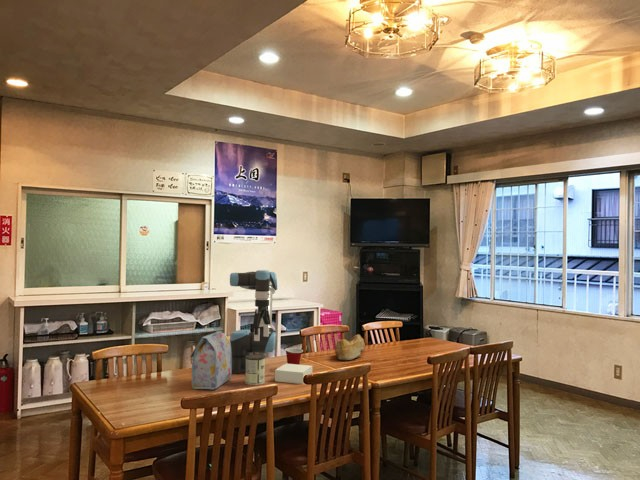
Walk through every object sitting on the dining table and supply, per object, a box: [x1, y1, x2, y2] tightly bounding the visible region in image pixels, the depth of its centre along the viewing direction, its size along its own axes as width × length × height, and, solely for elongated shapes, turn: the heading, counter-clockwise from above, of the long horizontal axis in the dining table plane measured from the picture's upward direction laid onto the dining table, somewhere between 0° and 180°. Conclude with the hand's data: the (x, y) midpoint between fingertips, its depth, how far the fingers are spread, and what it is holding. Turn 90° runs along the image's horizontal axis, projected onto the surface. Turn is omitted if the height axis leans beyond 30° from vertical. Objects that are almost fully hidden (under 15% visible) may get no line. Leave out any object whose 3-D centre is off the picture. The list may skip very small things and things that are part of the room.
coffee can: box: [244, 353, 266, 386], centre depth 257 cm, size 10×10×14 cm
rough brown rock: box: [334, 333, 366, 361], centre depth 321 cm, size 23×17×15 cm
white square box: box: [274, 363, 313, 385], centre depth 266 cm, size 16×16×6 cm
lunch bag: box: [189, 330, 233, 391], centre depth 253 cm, size 22×17×26 cm
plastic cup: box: [284, 347, 304, 365], centre depth 286 cm, size 11×11×12 cm
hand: (261, 338), depth 259 cm, fingers open, 13 cm apart
